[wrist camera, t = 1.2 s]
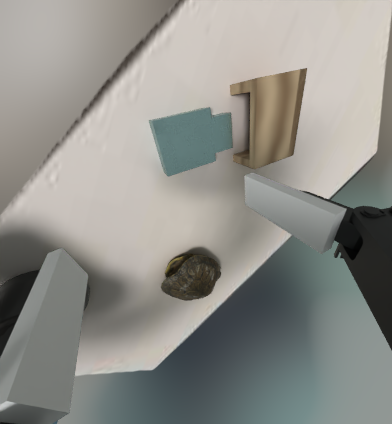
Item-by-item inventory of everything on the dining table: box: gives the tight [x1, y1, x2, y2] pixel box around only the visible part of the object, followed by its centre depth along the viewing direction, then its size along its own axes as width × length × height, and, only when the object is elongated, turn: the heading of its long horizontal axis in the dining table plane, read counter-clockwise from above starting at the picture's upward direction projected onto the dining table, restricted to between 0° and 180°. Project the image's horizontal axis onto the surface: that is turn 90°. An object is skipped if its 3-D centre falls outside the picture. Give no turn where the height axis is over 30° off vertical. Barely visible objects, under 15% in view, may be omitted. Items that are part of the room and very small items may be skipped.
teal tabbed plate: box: [149, 108, 233, 176], centre depth 30 cm, size 14×9×3 cm, turn 100°
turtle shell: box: [161, 254, 221, 300], centre depth 47 cm, size 16×9×20 cm
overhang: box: [230, 68, 307, 169], centre depth 32 cm, size 10×14×7 cm
